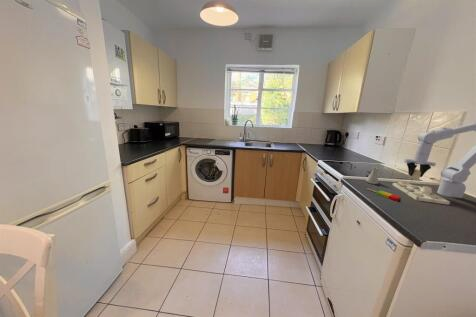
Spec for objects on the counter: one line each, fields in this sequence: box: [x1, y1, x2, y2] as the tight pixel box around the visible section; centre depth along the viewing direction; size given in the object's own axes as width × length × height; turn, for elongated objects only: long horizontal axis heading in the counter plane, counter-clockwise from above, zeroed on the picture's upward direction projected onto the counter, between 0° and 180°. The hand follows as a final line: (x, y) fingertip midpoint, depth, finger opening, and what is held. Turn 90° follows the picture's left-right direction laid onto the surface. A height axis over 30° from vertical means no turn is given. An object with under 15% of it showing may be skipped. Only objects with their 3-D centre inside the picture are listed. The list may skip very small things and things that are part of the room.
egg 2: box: [420, 185, 433, 195], centre depth 103 cm, size 4×4×5 cm
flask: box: [365, 166, 380, 185], centre depth 118 cm, size 7×7×10 cm
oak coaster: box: [397, 181, 413, 185], centre depth 120 cm, size 8×8×1 cm
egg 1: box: [408, 168, 421, 180], centre depth 109 cm, size 4×4×5 cm
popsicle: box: [366, 188, 401, 202], centre depth 101 cm, size 6×15×2 cm, turn 33°
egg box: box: [392, 182, 451, 206], centre depth 104 cm, size 14×21×2 cm
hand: (414, 175), depth 109 cm, fingers closed on egg 1, 4 cm apart
